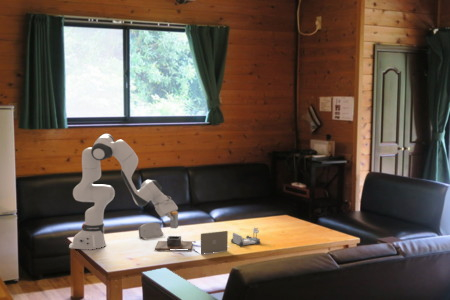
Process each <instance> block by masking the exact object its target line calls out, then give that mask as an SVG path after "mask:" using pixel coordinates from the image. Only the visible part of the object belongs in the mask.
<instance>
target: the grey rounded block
mask: <svg viewBox="0 0 450 300" xmlns="http://www.w3.org/2000/svg"><path fill="white" fill-rule="evenodd" d="M162 230H163V229H162V227H161V224H160V223H159V222H146V223H144V224H142V225H140V226H139V227H138V238H139V237H140V238H142V239H143V238H145V239H149V238H148V237H151V238H154V237H153V236H157V237H161V236H160V235H163V236H164V232H163V231H162Z"/></svg>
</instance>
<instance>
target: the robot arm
mask: <svg viewBox="0 0 450 300" xmlns="http://www.w3.org/2000/svg"><path fill="white" fill-rule="evenodd" d="M81 153H82V154H81V168H82V169H81V170H82V177H81V180H80V182H79V183H78V184H76V186H75V187H74V188H73V189H72V196H73V198H74V200H75V201H77V202H81V203H94V205H93V206H91V207H90V208H88V209H86V211H85V212H84V223H82V225H81V229H82V230H79V232H78V233H76V234H75V235H74V236H73V239H72V242H70V244H69V246H68V248H69V249H77V250H88V249H89V250H92V249H93V250H97V249H102V248H105V247H106V246H107V243H106V240H105V223H104V213H105V209H106V207H107V206H108V205H109V203H111V202H112V201H113V200H114V197H115V195H116V191H115V189H114V187H113V186H112V185H110V184H94V182H96V181H99V180H100V178H101V177H102V167H101V166H102V165H101V161H104V160H108V159H111V158H112V157H114V158H115V159H116V160H117V161H118V162H119V164H120V166H121V171H120V174H121V177H122V179H123V182H124V183H125V185H126V187H127V189H128V190H129V193H130V195H131V196H132V199H133V201H134V203H135V205H137V206H138V207H145V206H146V205H147V204H149V203H150V201H151V203H152V204H153V206H154V210H155V211H156V213H157V214H158V215H159V217H161V218H164V217H167V218H169V219H171V220H173V219H174V217H173V216H171V215H170V212H172V211H178V210H179V207H178V205H177V204H176V203H175V201H174V200H173V199H172V197H171V196H169V195H166V194H164V193H163V192H162V189H163V188H162V186H161V185H160V184H159V182H158V181H157V180H155V179H146V180H144V181H143V182H142V183H141V185H140V189H137V188H136V186H135V184H134V182H133V180H132V179H133V177H132V176H133V175H134V173H135V171H136V169H137V167H138V164H139V157H138V155H137V154H136V152H135V151H134V149H133V148H132V147H131V146H130V145H129V144H128V143H127V141H125V140H123V139H117V140H116V141H115V138H114V137H113V135H111V134H110V133H104V134H101V135H100V136H98V138H97V139H96V140H95V142H94V144H93V146H92V147H87V148H85V149H84V150H82V152H81ZM104 246H105V247H104ZM101 247H102V248H101ZM96 248H97V249H96ZM89 250H88V251H89Z"/></svg>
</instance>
